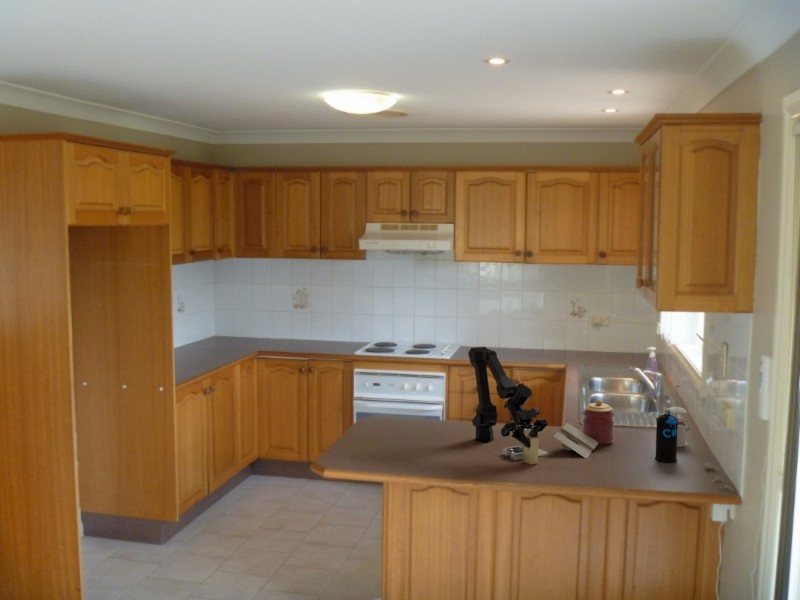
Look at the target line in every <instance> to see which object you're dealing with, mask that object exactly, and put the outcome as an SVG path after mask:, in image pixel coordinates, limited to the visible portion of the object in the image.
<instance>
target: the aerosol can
mask: <svg viewBox="0 0 800 600" xmlns="http://www.w3.org/2000/svg"><path fill="white" fill-rule="evenodd" d="M677 418H678V417H677ZM677 418H676V416H675V415H674V414H673V415H672V413H671V414H670V409H668V408H665V409H664V413H663V414H661V415H659V416H657V417H656V418H655V420H656V432H655V433H656V436H655V456H654V460H655V461H657V462H660V463H665V464H670V463H671V464H673V463H676V462H677V461H678V459H677V454H678V446H677V429H678V426H679V425H678V420H677Z"/></svg>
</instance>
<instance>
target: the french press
mask: <svg viewBox="0 0 800 600" xmlns="http://www.w3.org/2000/svg"><path fill="white" fill-rule="evenodd" d="M674 387H675V388H676V394H678V391H679V388H680V387H681V386H680V384H679V383H675V384H674ZM675 405H676V406H671V407H669V408H667V409H670V414H671V415H673V416H674V415H675V417H676V418H677V420H678V429H677V447H686V446H688V442H687V441H686V435H687V433H686V431H687V430H686V429H687V425H686V420H685V419H682V418H678V416H677V415H685V414H687V410H686V409H684V408H682V407H680V406H678V402H676V403H675Z"/></svg>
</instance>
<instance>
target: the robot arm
mask: <svg viewBox="0 0 800 600" xmlns="http://www.w3.org/2000/svg"><path fill="white" fill-rule="evenodd" d="M497 355H498V354H497V352H496V351H495V350H493V349H490V348H487V346H476V347H470V349H469V350H468V359H469V363H470V364H471V365H472V367H473V368H474V373H475V380H476V389H477V395H478V405H477V406H476V409H475V413H476V414H475V416H474V417H473V419H472V420H471V421H472V426H473V427H475V438H474V439H473V441H477V442H480V443H481V442H482V443H489V442H491V441H493V440H495V437H494V429H493V426H494V427H495V426H497V420H498V416H499V415H498V411H497V405H496V404H493V402H492V400H491V392H490V386H489V378H488V370H487V369H489V371H490V372H491V375H492V378H494V380H495V383H496V387H495V389H496V392H497V395H498V397H499V398H500V399H501V400H505V399H507V401H504V405H503V408H504V409H507V411H508V412H509V415H510V418H509V419H510V421H511V422H509V423H508V422H506V423H505V424H504V426H502V428H501V430H500V434H501V436H502V437H504V438H505V437H509V436H510V435H511V438H514V439H516V440H517V441H519V442H520V443H521V444H522V445H523V446H524V445H525V446H526V447H527V448H529V447H530V446H529V443H528V441H527V439H526V436H528V435H533V436H535V437H538V438H539V436H538V435H539V434H538V433H539V432H540V433H541V432H543V431H544V430H545V429H546V428H547V426H548V425H549V423H548V420H547V419H546V418H538V416H539V415H540V410H539V408H538V407H537V406H536V407H532V408H531V409H525V408H524V405H525V404H526V403H527V402H528V401H529V400H530V398H531V397H532V395H533V393H532V392H533V391H532V389H531V388H530V387H528V385H527V386H526V385H525V384H524V383H523V382H522V383H518V384H517V385H516V383H515V382H514V381H513V379H512V378H510V377H508V376H507V373H506V372H505V370H504V368H503V366H502V363H501V362H500V359H499V358H498V356H497ZM487 367H488V368H487ZM535 418H538V419H536V420H535V421H534V420H533V419H535ZM533 421H534V422H533ZM525 430H528V431H529V433H528V435H525ZM511 433H512V434H511Z"/></svg>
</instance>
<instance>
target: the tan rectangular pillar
mask: <svg viewBox="0 0 800 600" xmlns="http://www.w3.org/2000/svg"><path fill="white" fill-rule="evenodd" d="M525 436H526V439H527V441H528V443H529V446H530V447H529V448H527V447H526V446H525V445H523V446H524V459H523V462H524V463H525V464H528V465H529V466H531V465H537V464H539V457H538V448H539V444H540V443H539V439H540V438H539V436H538V437H535V436H533V435H525Z"/></svg>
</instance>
